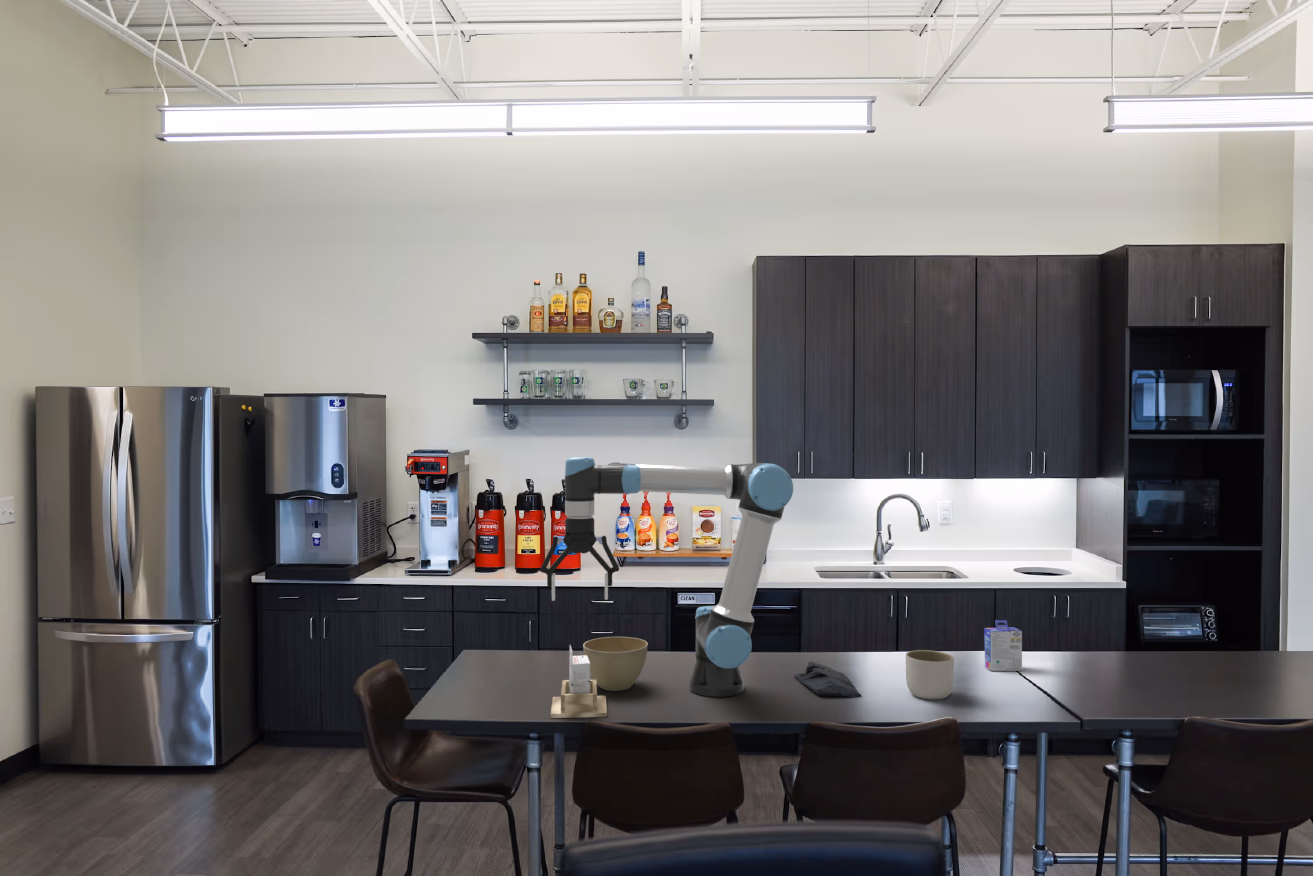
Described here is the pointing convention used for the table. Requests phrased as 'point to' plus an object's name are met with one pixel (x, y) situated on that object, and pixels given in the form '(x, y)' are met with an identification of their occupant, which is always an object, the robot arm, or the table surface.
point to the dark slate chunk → (827, 681)
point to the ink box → (579, 674)
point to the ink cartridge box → (1003, 648)
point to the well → (578, 703)
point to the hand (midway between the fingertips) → (579, 599)
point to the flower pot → (616, 661)
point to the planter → (929, 674)
